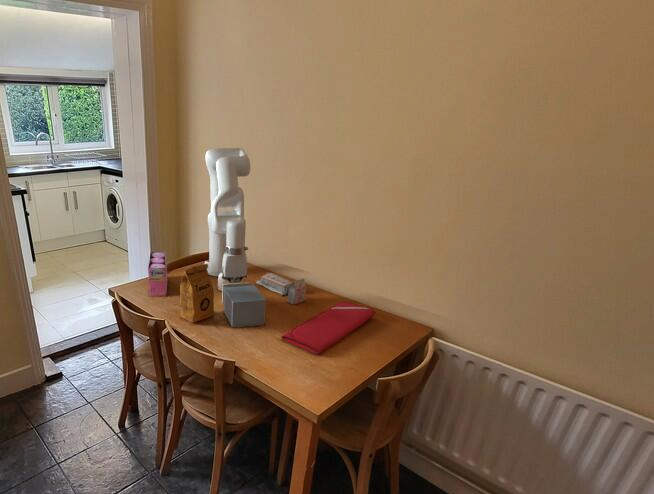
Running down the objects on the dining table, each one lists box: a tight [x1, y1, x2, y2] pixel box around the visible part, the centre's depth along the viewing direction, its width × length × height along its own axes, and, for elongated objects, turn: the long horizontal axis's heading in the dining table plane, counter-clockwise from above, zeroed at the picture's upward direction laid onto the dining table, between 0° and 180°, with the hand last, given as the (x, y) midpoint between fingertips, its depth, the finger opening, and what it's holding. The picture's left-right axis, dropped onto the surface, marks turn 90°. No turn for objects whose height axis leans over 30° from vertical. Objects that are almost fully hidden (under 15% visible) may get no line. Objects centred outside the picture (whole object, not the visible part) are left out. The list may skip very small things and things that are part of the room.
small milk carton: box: [287, 277, 307, 305], centre depth 175 cm, size 4×7×10 cm, turn 124°
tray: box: [221, 281, 250, 305], centre depth 170 cm, size 19×11×9 cm, turn 9°
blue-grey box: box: [223, 285, 267, 328], centre depth 161 cm, size 15×13×11 cm
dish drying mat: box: [281, 301, 377, 355], centre depth 154 cm, size 16×41×4 cm, turn 132°
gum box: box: [147, 251, 168, 297], centre depth 192 cm, size 24×8×14 cm, turn 2°
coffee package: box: [179, 263, 215, 324], centre depth 160 cm, size 10×12×22 cm
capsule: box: [217, 273, 230, 292], centre depth 189 cm, size 5×5×8 cm
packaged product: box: [255, 272, 292, 296], centre depth 190 cm, size 18×5×10 cm
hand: (233, 291), depth 176 cm, fingers closed
